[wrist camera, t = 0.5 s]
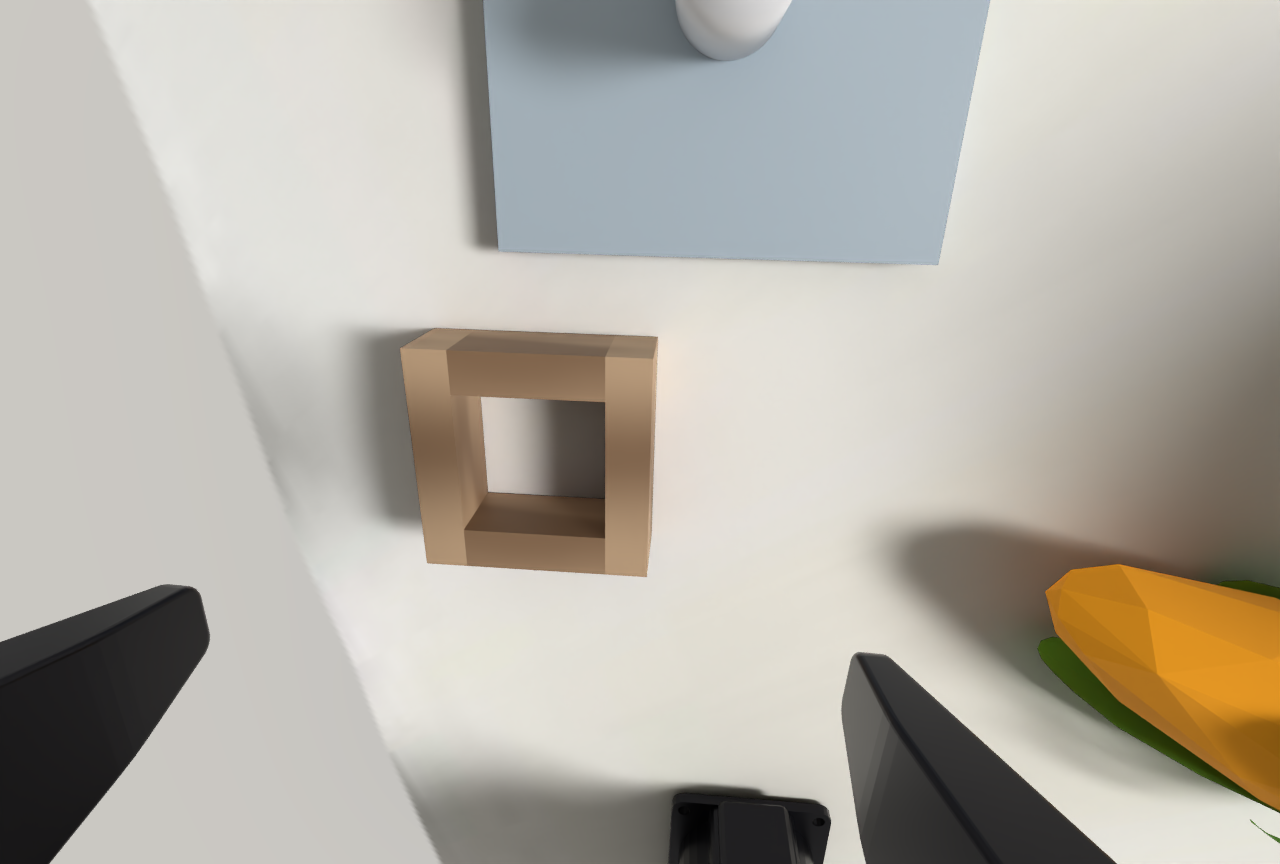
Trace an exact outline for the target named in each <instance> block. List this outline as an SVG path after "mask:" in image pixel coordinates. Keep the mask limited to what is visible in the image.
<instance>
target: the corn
mask: <svg viewBox="0 0 1280 864" xmlns="http://www.w3.org/2000/svg"><path fill="white" fill-rule="evenodd" d="M1045 593H1046V597H1047V601H1048V605H1049V609H1050V613H1051V617H1052V621H1053V624H1054V628H1055V632H1056V634H1057V635H1058V636H1059V637H1060V638H1057V637H1050V638H1047V639H1044V640H1041V642H1040V644H1039V646H1038V648H1037V649H1038V652H1039V654H1040V656H1041V659H1042V660H1043V661H1044V662H1045V663H1046V665H1047V666H1048V667H1049V668H1050V669H1051V670H1052V671H1053V672H1054V673H1055V674H1056V675H1057V676H1058V677H1059V678H1060V679H1061V680H1062V681H1063V682H1064V683H1065V684H1066V685H1067V686H1068V687H1069V688H1070V689H1071V690H1072V691H1073V692H1074V693H1076V694H1077V695H1078V696H1079V697H1081V698H1082V699H1083V700H1084V701H1086V702H1087V703H1088V704H1089V705H1091V706H1092V707H1093V708H1094V709H1096V710H1097V711H1098V712H1099V713H1101V714H1102V715H1103V716H1104V717H1106V718H1107V719H1108V720H1109V721H1111V722H1112V723H1113V724H1114V725H1116V726H1117V727H1118V728H1120V729H1122V730H1123V731H1125V732H1127V733H1129V734H1130V735H1132V736H1134V737H1135V738H1137V739H1139V740H1141V741H1142V742H1144V743H1146V744H1147V745H1149V746H1151V747H1153V748H1154V749H1156V750H1158V751H1159V752H1161V753H1163V754H1165V755H1166V756H1168V757H1170V758H1171V759H1173V760H1175V761H1177V762H1178V763H1180V764H1182V765H1183V766H1185V767H1187V768H1189V769H1190V770H1192V771H1194V772H1195V773H1197V774H1199V775H1201V776H1203V777H1205V778H1207V779H1209V780H1211V781H1213V782H1215V783H1218V784H1220V785H1222V786H1224V787H1226V788H1228V789H1230V790H1232V791H1234V792H1237V793H1239V794H1241V795H1243V796H1245V797H1247V798H1249V799H1251V800H1253V801H1256V802H1258V803H1260V804H1262V805H1264V806H1266V807H1268V808H1270V809H1272V810H1275V811H1277V812H1279V813H1280V588H1278V587H1274V586H1270V585H1265V584H1261V583H1257V582H1253V581H1249V580H1244V581H1223V582H1221V583H1219V584H1217V585H1214V584H1209V583H1204V582H1200V581H1195V580H1190V579H1186V578H1181V577H1177V576H1172V575H1167V574H1163V573H1158V572H1153V571H1149V570H1144V569H1139V568H1135V567H1130V566H1126V565H1121V564H1114V565H1106V566H1098V567H1089V568H1081V569H1073V570H1070V571H1069V572H1068V573H1066V574H1065V575H1064V576H1063V577H1062V578H1061V579H1059V580H1058V581H1057V582H1056V583H1055V584H1053V585H1052V586H1051V587H1050V588H1049V589H1048V590H1046V591H1045ZM1250 821H1251V820H1250ZM1251 822H1252V823H1253V824H1254V825H1256V824H1255V823H1254V822H1253V821H1251ZM1256 826H1257V825H1256ZM1257 827H1258V826H1257ZM1258 828H1259V827H1258ZM1260 829H1261V828H1260ZM1261 830H1262V829H1261ZM1262 831H1263V830H1262ZM1263 832H1265V831H1263ZM1265 833H1266V832H1265ZM1266 834H1267V835H1269V836H1270V837H1272V838H1273V839H1274V840H1276V841H1277V842H1278V843H1280V838H1277V837H1275V836H1273V835H1270V834H1268V833H1266Z"/></svg>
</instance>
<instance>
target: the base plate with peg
mask: <svg viewBox="0 0 1280 864" xmlns="http://www.w3.org/2000/svg"><path fill="white" fill-rule="evenodd" d="M989 4H990V0H483V7H484V24H485V40H486V56H487V72H488V88H489V104H490V120H491V137H492V153H493V169H494V185H495V201H496V217H497V234H498V250H499V251H501V252H534V253H566V254H598V255H630V256H663V257H695V258H727V259H760V260H792V261H824V262H856V263H889V264H921V265H938V263H939V258H940V253H941V248H942V243H943V238H944V233H945V228H946V222H947V217H948V212H949V207H950V202H951V197H952V192H953V187H954V182H955V177H956V172H957V166H958V161H959V156H960V151H961V146H962V141H963V136H964V131H965V126H966V121H967V116H968V110H969V105H970V100H971V95H972V90H973V85H974V80H975V75H976V70H977V65H978V60H979V54H980V49H981V44H982V39H983V34H984V29H985V24H986V19H987V14H988V9H989Z"/></svg>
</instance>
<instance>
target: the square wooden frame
mask: <svg viewBox="0 0 1280 864" xmlns="http://www.w3.org/2000/svg"><path fill="white" fill-rule="evenodd" d="M657 348H658V337H646V336H621V335H595V334H569V333H544V332H518V331H492V330H467V329H441V328H434V329H432V330H430V331H429V332H427V333H425V334H424V335H422V336H420V337H418V338H417V339H415V340H413V341H412V342H410V343H408V344H406V345H405V346H403V347H401V348H400V353H401V361H402V369H403V377H404V385H405V392H406V400H407V408H408V416H409V424H410V432H411V440H412V448H413V456H414V463H415V471H416V479H417V487H418V495H419V503H420V511H421V519H422V526H423V534H424V542H425V550H426V558H427V563H432V564H448V565H464V566H480V567H496V568H512V569H528V570H544V571H560V572H576V573H592V574H608V575H623V576H639V577H647V569H648V560H649V551H650V543H651V531H652V500H653V470H654V439H655V409H656V378H657ZM480 396H481V397H503V398H524V399H546V400H568V401H590V402H605V499H596V498H578V497H560V496H542V495H524V494H505V493H488V486H487V474H486V461H485V448H484V436H483V423H482V410H481V398H480Z"/></svg>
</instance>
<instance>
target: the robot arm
mask: <svg viewBox="0 0 1280 864" xmlns="http://www.w3.org/2000/svg"><path fill="white" fill-rule="evenodd" d="M209 641H210V633H209V628H208V624H207V620H206V615H205V611H204V607H203V603H202V599H201V595H200V593H199V592H198V591H197V590H196V589H195V588H193V587H190V586H181V585H170V584H167V585H160V586H157V587H154V588H151V589H149V590H146V591H143V592H140V593H137V594H134V595H132V596H129V597H126V598H123V599H120V600H118V601H115V602H112V603H109V604H107V605H103V606H101V607H98V608H95V609H92V610H89V611H87V612H84V613H81V614H78V615H75V616H72V617H70V618H67V619H64V620H62V621H58V622H56V623H53V624H50V625H47V626H45V627H41V628H39V629H36V630H33V631H30V632H28V633H25V634H22V635H19V636H16V637H13V638H11V639H8V640H5V641H2V642H0V864H49V863H50V862H51V861H52V860H53V858H54V857H55V856H56V855H57V853H58V852H59V851H60V850H61V849H62V847H63V846H64V845H65V843H66V842H67V841H68V840H69V839H70V837H71V836H72V835H73V834H74V832H75V831H76V830H77V829H78V827H79V826H80V825H81V824H82V822H83V821H84V820H85V819H86V817H87V816H88V815H89V814H90V812H91V811H92V810H93V809H94V808H95V806H96V805H97V804H98V802H99V801H100V800H101V799H102V798H103V796H104V795H105V794H106V793H107V791H108V790H109V789H110V788H111V786H112V785H113V784H114V783H115V781H116V780H117V779H118V778H119V776H120V775H121V774H122V772H123V771H124V770H125V768H126V767H127V766H128V765H129V764H130V762H131V761H132V760H133V758H134V757H135V756H136V754H137V753H138V751H139V750H140V749H141V747H142V746H143V744H144V743H145V741H146V740H147V739H148V737H149V736H150V734H151V733H152V731H153V729H154V728H155V727H156V725H157V724H158V722H159V721H160V720H161V718H162V716H163V715H164V714H165V712H166V711H167V709H168V708H169V706H170V705H171V703H172V702H173V700H174V699H175V697H176V696H177V694H178V693H179V691H180V690H181V688H182V687H183V685H184V684H185V682H186V681H187V680H188V678H189V677H190V675H191V674H192V672H193V671H194V669H195V668H196V666H197V665H198V663H199V662H200V660H201V659H202V657H203V656H204V654H205V652H206V650H207V648H208V645H209ZM841 712H842V723H843V730H844V736H845V743H846V750H847V756H848V763H849V770H850V776H851V783H852V789H853V796H854V803H855V809H856V816H857V822H858V828H859V834H860V840H861V844H862V848H863V852H864V857H865V861H866V864H1117V863H1116V862H1115V861H1113V860H1112V859H1111V858H1110V857H1109V856H1108V855H1107V854H1106V853H1105V852H1104V851H1102V850H1101V849H1100V848H1099V847H1098V846H1097V845H1096V844H1095V843H1094V842H1092V841H1091V840H1090V839H1089V838H1088V837H1087V836H1086V835H1085V834H1084V833H1083V832H1081V831H1080V830H1079V829H1078V828H1077V827H1076V826H1075V825H1074V824H1073V823H1072V822H1070V821H1069V820H1068V819H1067V818H1066V817H1065V816H1064V815H1063V814H1062V813H1061V812H1059V811H1058V810H1057V809H1056V808H1055V807H1054V806H1053V805H1052V804H1051V803H1050V802H1048V801H1047V800H1046V799H1045V798H1044V797H1043V796H1042V795H1041V794H1040V793H1038V792H1037V791H1036V790H1035V789H1034V788H1033V787H1032V786H1031V785H1030V784H1029V783H1027V782H1026V781H1025V780H1024V779H1023V778H1022V777H1021V776H1020V775H1019V774H1018V773H1016V772H1015V771H1014V770H1013V769H1012V768H1011V767H1010V766H1009V765H1008V764H1007V763H1005V762H1004V761H1003V760H1002V759H1001V758H1000V757H999V756H998V755H997V754H996V753H994V752H993V751H992V750H991V749H990V748H989V747H988V746H987V745H986V744H984V743H983V742H982V741H981V740H980V739H979V738H978V737H977V736H976V735H975V734H973V733H972V732H971V731H970V730H969V729H968V728H967V727H966V726H965V725H964V724H962V723H961V722H960V721H959V720H958V719H957V718H956V717H955V716H954V715H953V714H951V713H950V712H949V711H948V710H947V709H946V708H945V707H944V706H943V705H942V704H940V703H939V702H938V701H937V700H936V699H935V698H934V697H933V696H932V695H931V694H929V693H928V692H927V691H926V690H925V689H924V688H923V687H922V686H921V685H919V684H918V683H917V682H916V681H915V680H914V679H913V678H912V677H911V676H910V675H908V674H907V673H906V672H905V671H904V670H903V669H902V668H901V667H900V666H899V665H897V664H896V663H895V662H894V661H893V660H892V659H891V658H889V657H888V656H886V655H883V654H874V653H864V652H857V653H856V654H854V655H853V657H852V659H851V662H850V666H849V671H848V676H847V680H846V685H845V689H844V694H843V699H842V710H841ZM830 826H831V819H830V814H829V810H828V809H827V808H826V807H825V806H823V805H818V804H807V803H795V802H783V801H771V800H759V799H747V798H736V797H724V796H712V795H700V794H688V793H680V794H677V795H675V796H674V797H673V800H672V812H671V829H670V846H669V863H668V864H823V861H824V856H825V851H826V846H827V841H828V836H829V831H830Z"/></svg>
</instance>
